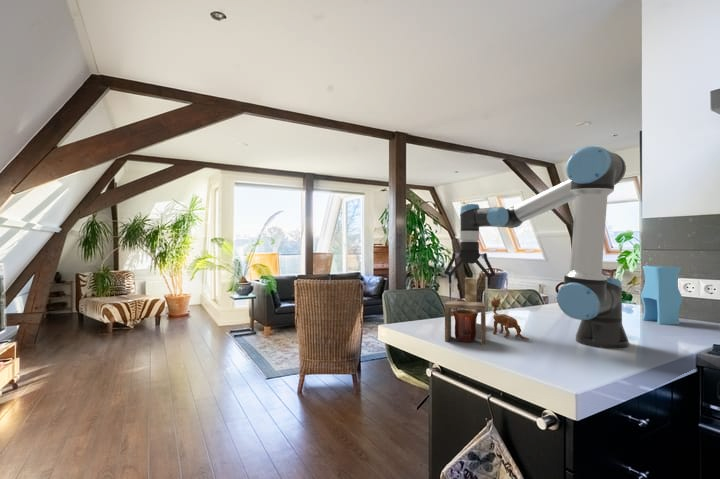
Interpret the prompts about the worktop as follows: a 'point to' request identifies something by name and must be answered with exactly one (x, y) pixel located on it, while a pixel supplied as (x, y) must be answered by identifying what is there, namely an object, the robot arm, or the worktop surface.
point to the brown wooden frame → (466, 306)
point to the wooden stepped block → (470, 291)
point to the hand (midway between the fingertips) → (469, 292)
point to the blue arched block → (661, 294)
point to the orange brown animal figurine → (505, 321)
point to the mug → (465, 325)
